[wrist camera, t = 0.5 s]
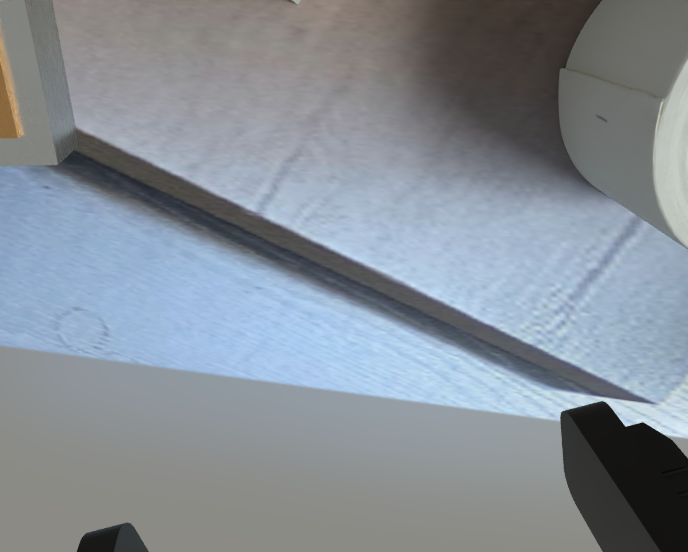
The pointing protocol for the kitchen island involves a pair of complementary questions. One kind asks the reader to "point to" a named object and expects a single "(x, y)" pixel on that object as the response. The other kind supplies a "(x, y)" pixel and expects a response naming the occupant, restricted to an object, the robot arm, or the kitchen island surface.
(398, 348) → the kitchen island surface
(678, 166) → the roll of tape
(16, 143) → the tray
